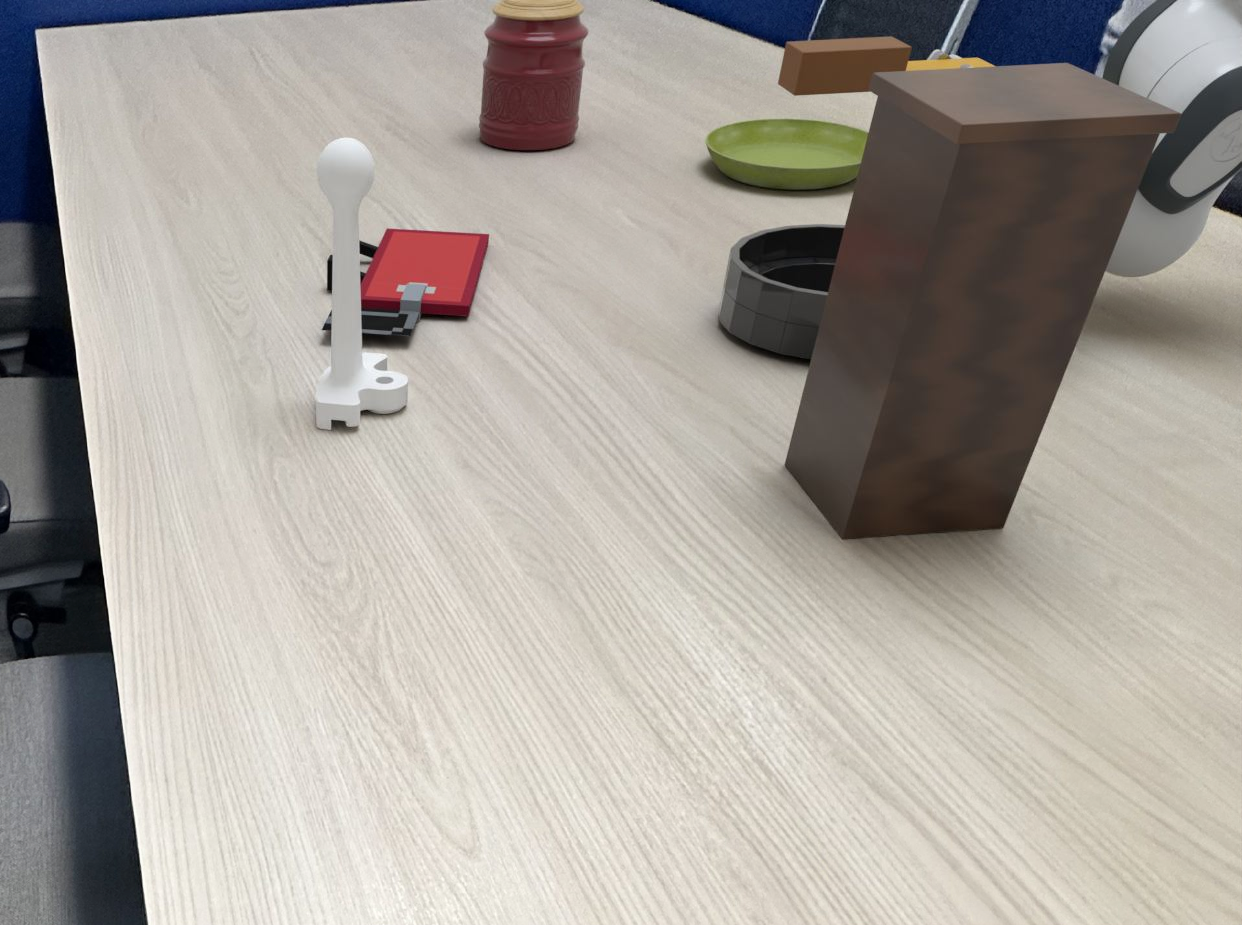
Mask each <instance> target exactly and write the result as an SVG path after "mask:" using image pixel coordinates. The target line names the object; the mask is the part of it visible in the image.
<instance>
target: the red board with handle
mask: <svg viewBox="0 0 1242 925" xmlns="http://www.w3.org/2000/svg"><path fill="white" fill-rule="evenodd" d="M489 241H490V234H489V233H477V232H476V233H475V232H460V231H459V232H457V231H441V230H422V229H405V228H403V229H402V228H387V227H386V229H385V232H384V234H383V236H382V238H381V240H380V242H379V245H378V246H376V245H375V244H371V243H368V242H365V241H362V240H360V239H359V248H360V255H362V256H365V257H368V258H370V259H371V262H370V263H369V266H368V267H367V270H366V272H363V271H361V270H360V286H361V324H362V334H371V335H372V334H373V335H387V336H388V335H389V336H403V337H412V334H413V331H414V329H415V326H416V322H417V323H418V322H420V320H421V316H422V314H428V315H443V316H444V315H445V316H458V317H469V316H470V313H471V312H470V311H471V309H472V305H473V301H474V298H475V295H476V290H477V287H478V283H479V279H480V275H481V271H482V268H483V265H484V261H485V257H486V253H487V251H488V246H489V243H490V242H489ZM332 264H333V254H330V255H329V256H328V258H327V261H326V271H327V272H326V291H327V292H328V291H329V292H332ZM331 329H332V309H331V310H330V312H329V313H328V316H327V318H326V320H325V322H324V324H323V326H322V328H321V331H328V332H331Z"/></svg>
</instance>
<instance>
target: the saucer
mask: <svg viewBox="0 0 1242 925" xmlns="http://www.w3.org/2000/svg"><path fill="white" fill-rule="evenodd" d="M868 133H869V131H867V130H865V129H861V128H858V127H856V126H855V127H854V126H851V125H847V124H841V123H837V122H831V121H826V120H817V119H804V118H763V119H751V120H744V121H738V122H732V123H729V124H725V125H722V126H719V127H716V128H715V129H712V130H711V131H710V132H708V133H707V135H706V137H705V145H706V148H707V152H708V154H709V156H710V158H711V159H712V161H713V163H714V164H715V165H716V167H717V168H718V169H719V171H721V172H722V173H723V174H724V175H725V176H727V177H729V178H730V179H732V180H734V181H737V182H739V183H742V184H745V185H750V186H753V187H759V188H764V189H765V188H766V189H773V190H785V191H807V190H808V191H810V190H821V189H828V188H832V187H838V186H841V185H844V184H847V183H849V182H851V181H852V180H854V179H857V176H858V172H859V168H860V164H861V160H862V157H863V153H864V149H865V145H866V141H867V137H868Z"/></svg>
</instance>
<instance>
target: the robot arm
mask: <svg viewBox="0 0 1242 925" xmlns="http://www.w3.org/2000/svg"><path fill="white" fill-rule="evenodd" d="M959 58H962V57H961V56H959V55H957V54H953V53H952V54H948V53H946V52H944V51H942V50H941V49H938V48H937V49H934V50H933V51H932V52H931V53H930V55H929V56H928V57H927V59H926V60H940V59H959ZM960 68H974V67H972V66H970V65H968V64H964V65H962V66H961V67H960ZM1102 78H1103V79H1105V80H1107V81H1109V82H1112V83H1114V84H1116V85H1118V86H1121V87H1123V88H1125V89H1127V90H1130V91H1132V92H1134V93H1136V94H1139V95H1141V96H1143V97H1145V98H1148V99H1150V100H1152V101H1154V102H1157V103H1159V104H1161V105H1163V106H1166V107H1168V108H1170V109H1172V110H1175V111H1177V112H1179V113H1181V116H1180V118H1179V121H1178V123H1177V126H1176V128H1175V131H1174V132H1173V133H1161V134H1159V137H1158V139H1157V142H1156V144H1155V147H1154V149H1153V152H1152V154H1151V157H1150V160H1149V162H1148V165H1147V167H1146V170H1145V172H1144V175H1143V177H1142V180H1141V182H1140V185H1139V187H1138V190H1137V192H1136V195H1135V197H1134V200H1133V202H1132V205H1131V207H1130V210H1129V212H1128V215H1127V218H1126V220H1125V223H1124V225H1123V228H1122V230H1121V233H1120V235H1119V238H1118V240H1117V243H1116V245H1115V248H1114V250H1113V253H1112V255H1111V258H1110V260H1109V263H1108V265H1107V268H1106V270H1105V273H1108V274H1110V275H1114V276H1116V277H1121V278H1140V277H1141V278H1142V277H1146V276H1149V275H1153V274H1156V273H1158V272H1160V271H1162V270H1164V269H1166V268H1168V267H1169V266H1171V265H1172V264H1174V263H1175V262H1177V261H1178V260H1179V259H1181V258H1182V257H1183V256H1184V255H1185V254H1186V253H1187V252H1188V251H1190V249H1191V248H1192V247H1194V245H1195V244H1196V243H1197V241H1198V240H1199V238H1201V236H1202V234H1203V232H1204V229H1205V227H1206V225H1207V221H1208V219H1209V215H1210V213H1211V210H1212V208H1213V206H1214V204H1215V202H1216V201H1217V199H1218V198H1219V196H1220V195H1221V194H1222V192H1223V191H1224V189H1225V188H1226V187H1227V186H1228V184H1229V183H1230V182H1231V181H1232V180H1233V178H1234V177H1235V175H1237V174H1239V172H1240V171H1241V170H1242V0H1155V1H1154V2H1152V3H1150V5H1148V6H1147V7H1146V8H1145V9H1143V10H1142V11H1141V12H1140V13H1139V14H1138V15H1137V16H1136V17H1135V18H1134V19H1133V20H1132V21H1131V22H1130V23H1129V24H1128V25H1127V27H1126V28H1125V29H1124V31H1123V32H1122V33H1121V35H1120V36H1119V37H1118V39H1117V40H1116V42H1115V44H1114V45H1113V47H1112V49H1111V51H1110V53H1109V55H1108V57H1107V59H1106V62H1105V65H1104V68H1103V72H1102Z"/></svg>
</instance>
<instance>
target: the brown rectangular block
mask: <svg viewBox="0 0 1242 925" xmlns="http://www.w3.org/2000/svg"><path fill="white" fill-rule="evenodd" d="M911 52H912V46H911V45H909V44H908V43H905V42H903V41H901V40H899V39H897V38H896V37H894V36H891V35H890V36H873V37H852V38H850V37H849V38H835V39H834V38H833V39H830V38H829V39H813V40H812V39H811V40H795V41H786V42H785V47H784V51H783V56H782V61H781V67H780V72H779V76H778V81H777V84H778V86H780V87H781V88H782V89H784V90H786V91H787V92H788V93H790V95H791V94H792V95H793V96H796V97H797V96H814V95H815V96H816V95H817V96H818V95H833V94H836V95H837V94H851V93H852V94H853V93H872V92H871V91H869V86H870V82H871V78H872V74H873V73H876V72H896V71H915V70H935V69H955V68H960V67H961V66H962V65H964V64H968V65H970V66H972V67H974V68H975V67H995V66H996V65H994V64H992V63H990V62H988V61H986V60H984V59H982V58H979V57H961V58H959V59H940V60H927V59H923V60H910V56H911Z"/></svg>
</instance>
